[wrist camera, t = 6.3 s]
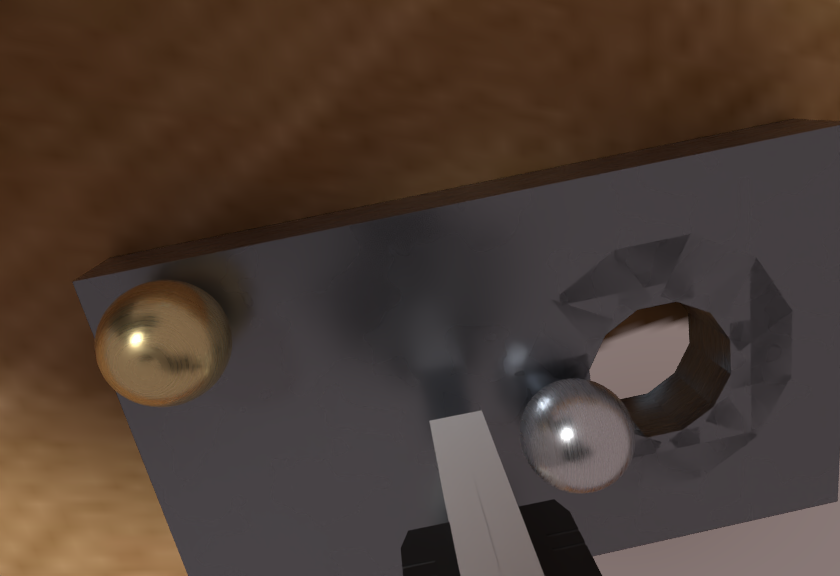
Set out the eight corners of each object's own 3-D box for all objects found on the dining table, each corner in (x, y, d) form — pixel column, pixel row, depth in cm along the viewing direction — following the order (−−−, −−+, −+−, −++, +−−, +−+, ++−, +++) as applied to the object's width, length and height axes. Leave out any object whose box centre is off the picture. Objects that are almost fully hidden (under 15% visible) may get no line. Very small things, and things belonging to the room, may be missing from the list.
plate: (229, 583, 22) (214, 641, 20) (109, 258, 18) (72, 281, 16) (789, 459, 23) (837, 501, 21) (793, 118, 19) (855, 121, 17)
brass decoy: (107, 278, 16) (47, 320, 13) (223, 254, 16) (192, 290, 13) (146, 382, 17) (99, 444, 14) (256, 359, 17) (233, 416, 14)
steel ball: (602, 353, 18) (502, 372, 18) (655, 397, 15) (535, 419, 15) (607, 446, 19) (511, 465, 19) (659, 504, 16) (545, 528, 16)
